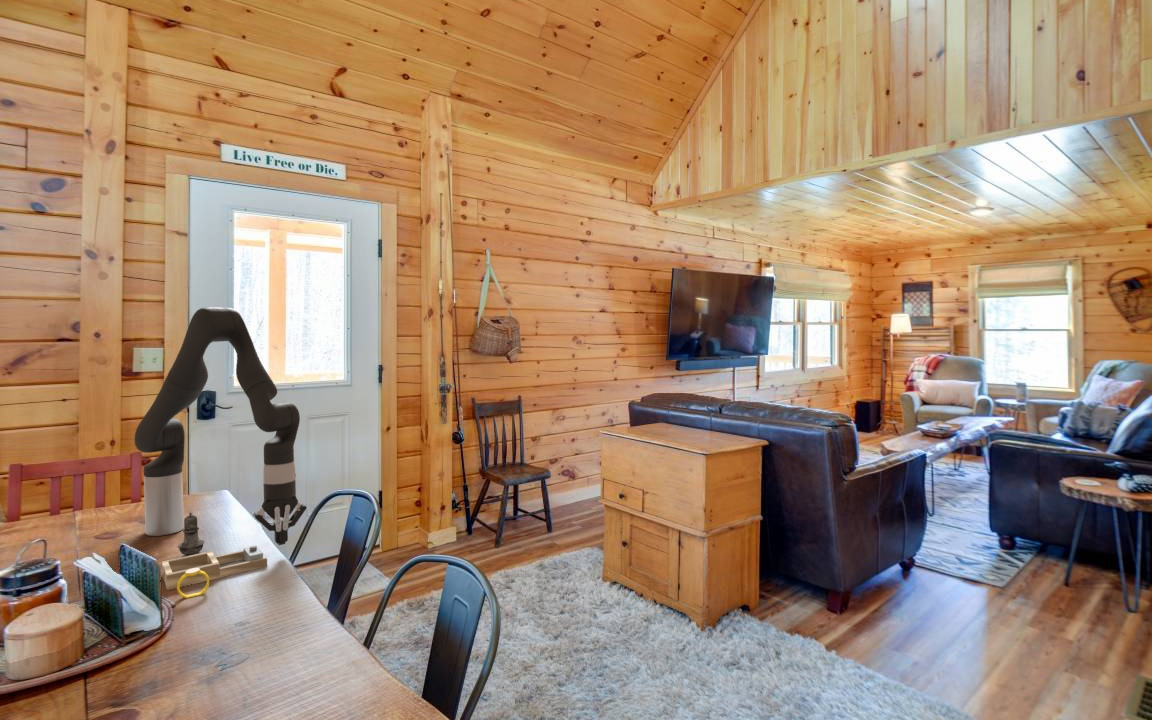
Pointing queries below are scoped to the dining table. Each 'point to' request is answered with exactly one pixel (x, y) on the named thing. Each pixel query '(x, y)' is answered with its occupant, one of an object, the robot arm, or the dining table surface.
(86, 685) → the dining table surface
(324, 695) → the dining table surface
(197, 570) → the watch
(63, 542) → the dining table surface
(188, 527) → the dark stupa figurine
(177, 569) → the holder
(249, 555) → the cover
